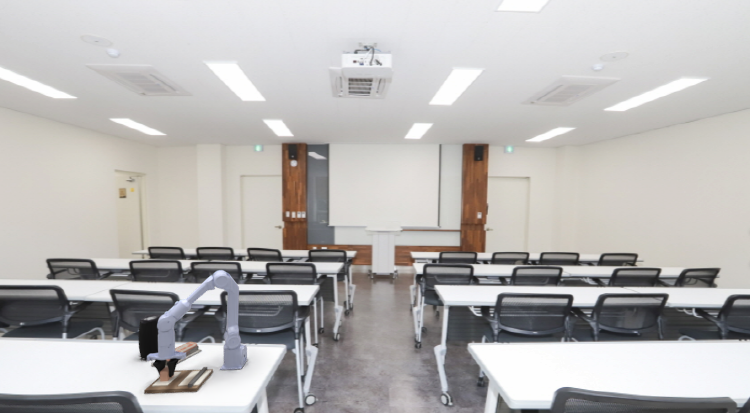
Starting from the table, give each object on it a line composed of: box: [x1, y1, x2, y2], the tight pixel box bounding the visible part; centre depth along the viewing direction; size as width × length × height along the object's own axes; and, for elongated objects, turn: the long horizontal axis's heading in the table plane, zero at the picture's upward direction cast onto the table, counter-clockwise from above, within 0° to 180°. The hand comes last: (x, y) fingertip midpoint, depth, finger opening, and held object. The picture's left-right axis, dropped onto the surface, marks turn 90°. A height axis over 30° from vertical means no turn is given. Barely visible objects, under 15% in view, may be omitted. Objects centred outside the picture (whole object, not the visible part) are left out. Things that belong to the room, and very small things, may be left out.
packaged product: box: [150, 341, 202, 368], centre depth 139 cm, size 18×5×10 cm
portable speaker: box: [137, 313, 161, 362], centre depth 141 cm, size 9×9×20 cm
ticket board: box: [143, 366, 214, 395], centre depth 121 cm, size 20×13×3 cm, turn 93°
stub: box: [152, 366, 181, 386], centre depth 120 cm, size 6×9×4 cm, turn 3°
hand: (167, 376), depth 120 cm, fingers closed on stub, 3 cm apart
